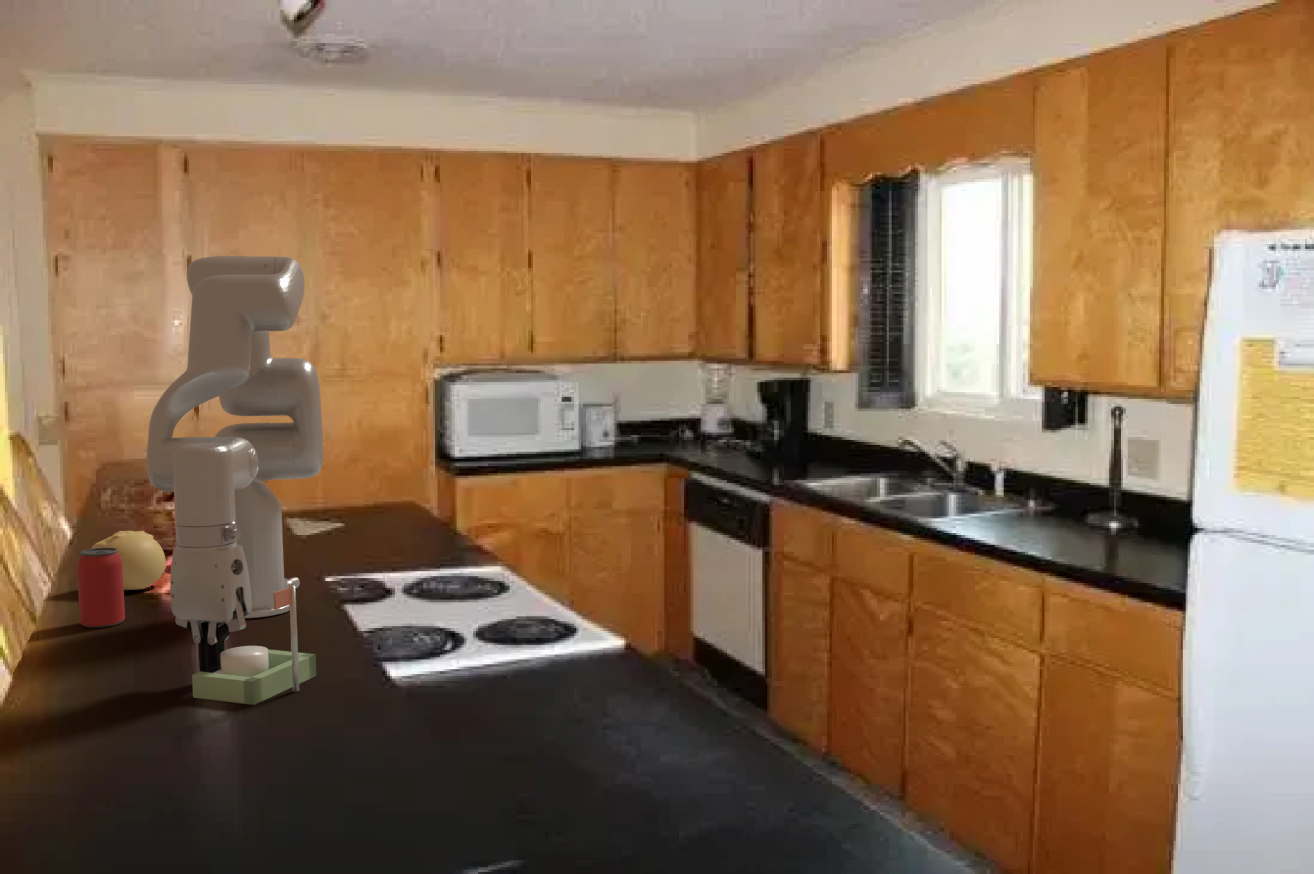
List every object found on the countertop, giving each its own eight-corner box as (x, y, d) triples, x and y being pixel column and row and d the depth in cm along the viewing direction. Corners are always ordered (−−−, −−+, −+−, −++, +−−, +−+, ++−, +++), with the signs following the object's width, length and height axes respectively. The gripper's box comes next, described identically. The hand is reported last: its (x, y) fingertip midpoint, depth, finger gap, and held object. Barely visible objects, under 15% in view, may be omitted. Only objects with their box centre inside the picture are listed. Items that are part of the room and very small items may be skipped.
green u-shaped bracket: (258, 669, 163) (254, 570, 162) (328, 676, 160) (324, 575, 158) (193, 697, 151) (188, 590, 150) (266, 706, 147) (262, 596, 146)
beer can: (107, 629, 186) (103, 555, 185) (71, 627, 187) (66, 553, 186) (134, 619, 192) (130, 547, 191) (98, 617, 194) (94, 546, 192)
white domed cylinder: (244, 676, 160) (242, 643, 160) (279, 681, 158) (277, 648, 158) (211, 688, 155) (210, 655, 154) (247, 694, 153) (245, 660, 152)
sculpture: (143, 579, 224) (140, 523, 223) (178, 586, 216) (176, 529, 215) (84, 590, 214) (80, 532, 213) (119, 598, 207) (116, 538, 206)
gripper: (271, 534, 157) (276, 667, 159) (181, 528, 162) (187, 658, 164) (233, 544, 150) (239, 683, 152) (140, 537, 155) (147, 673, 157)
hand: (212, 670), depth 158 cm, fingers closed
